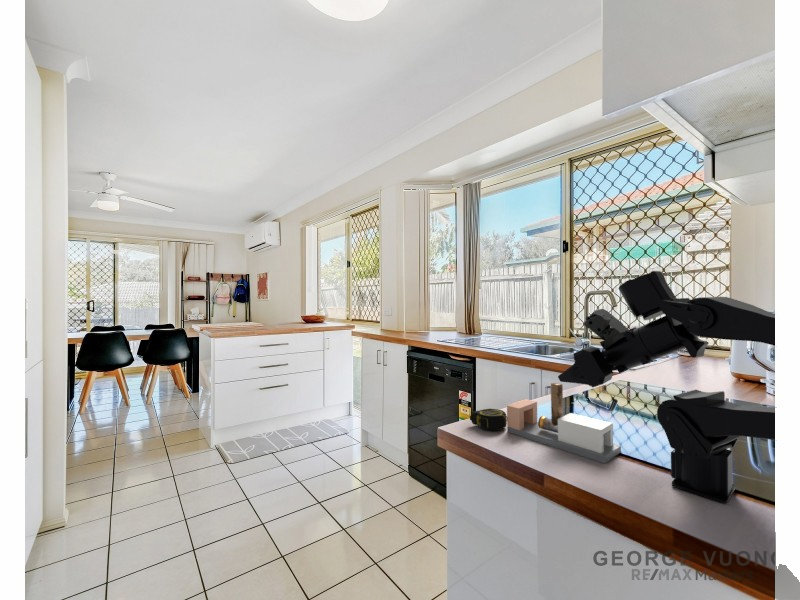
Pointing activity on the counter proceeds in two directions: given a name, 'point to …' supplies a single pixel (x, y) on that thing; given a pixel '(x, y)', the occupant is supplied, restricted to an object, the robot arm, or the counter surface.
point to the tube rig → (564, 432)
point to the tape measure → (489, 419)
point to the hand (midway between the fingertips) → (570, 373)
